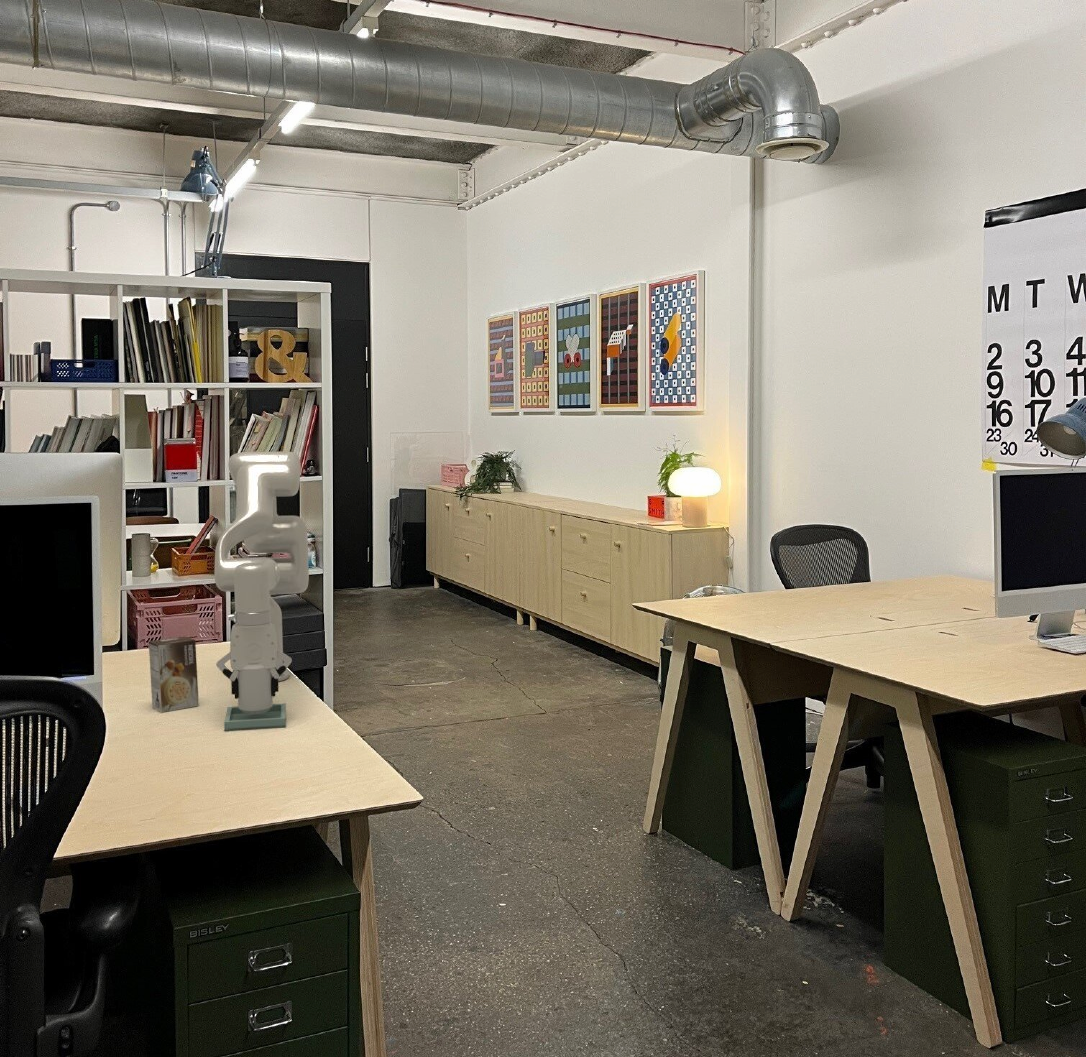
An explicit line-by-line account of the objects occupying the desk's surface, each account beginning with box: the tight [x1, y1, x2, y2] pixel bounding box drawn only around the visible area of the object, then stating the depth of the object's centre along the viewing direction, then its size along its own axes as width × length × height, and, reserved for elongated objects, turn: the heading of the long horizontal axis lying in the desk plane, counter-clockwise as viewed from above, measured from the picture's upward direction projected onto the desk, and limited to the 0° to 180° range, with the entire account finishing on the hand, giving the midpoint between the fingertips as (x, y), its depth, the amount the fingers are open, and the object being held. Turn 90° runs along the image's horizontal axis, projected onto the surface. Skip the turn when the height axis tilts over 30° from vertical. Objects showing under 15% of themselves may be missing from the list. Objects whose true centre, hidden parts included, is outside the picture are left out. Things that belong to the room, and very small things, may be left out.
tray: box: [223, 703, 287, 732], centre depth 248 cm, size 13×13×2 cm
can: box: [237, 661, 274, 714], centre depth 247 cm, size 8×8×12 cm
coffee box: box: [148, 635, 200, 713], centre depth 259 cm, size 9×6×16 cm
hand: (255, 695), depth 247 cm, fingers closed on can, 7 cm apart
